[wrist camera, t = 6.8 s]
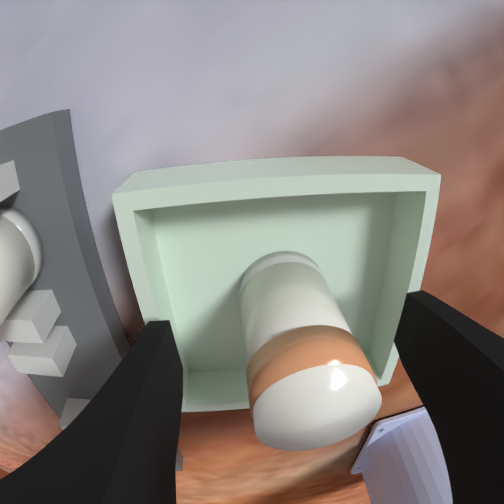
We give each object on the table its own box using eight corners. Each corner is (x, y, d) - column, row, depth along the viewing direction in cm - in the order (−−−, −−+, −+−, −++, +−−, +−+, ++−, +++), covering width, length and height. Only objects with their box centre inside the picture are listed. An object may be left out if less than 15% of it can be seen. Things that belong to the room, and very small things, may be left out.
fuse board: (182, 456, 18) (181, 493, 15) (104, 451, 18) (98, 485, 15) (69, 109, 8) (18, 118, 5) (-43, 151, 8) (-91, 173, 5)
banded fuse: (319, 319, 12) (365, 439, 7) (238, 325, 12) (252, 457, 7) (328, 247, 11) (401, 367, 6) (236, 252, 10) (251, 390, 6)
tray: (370, 347, 14) (388, 383, 12) (181, 370, 14) (177, 412, 11) (401, 156, 10) (441, 175, 8) (134, 171, 9) (111, 194, 7)
